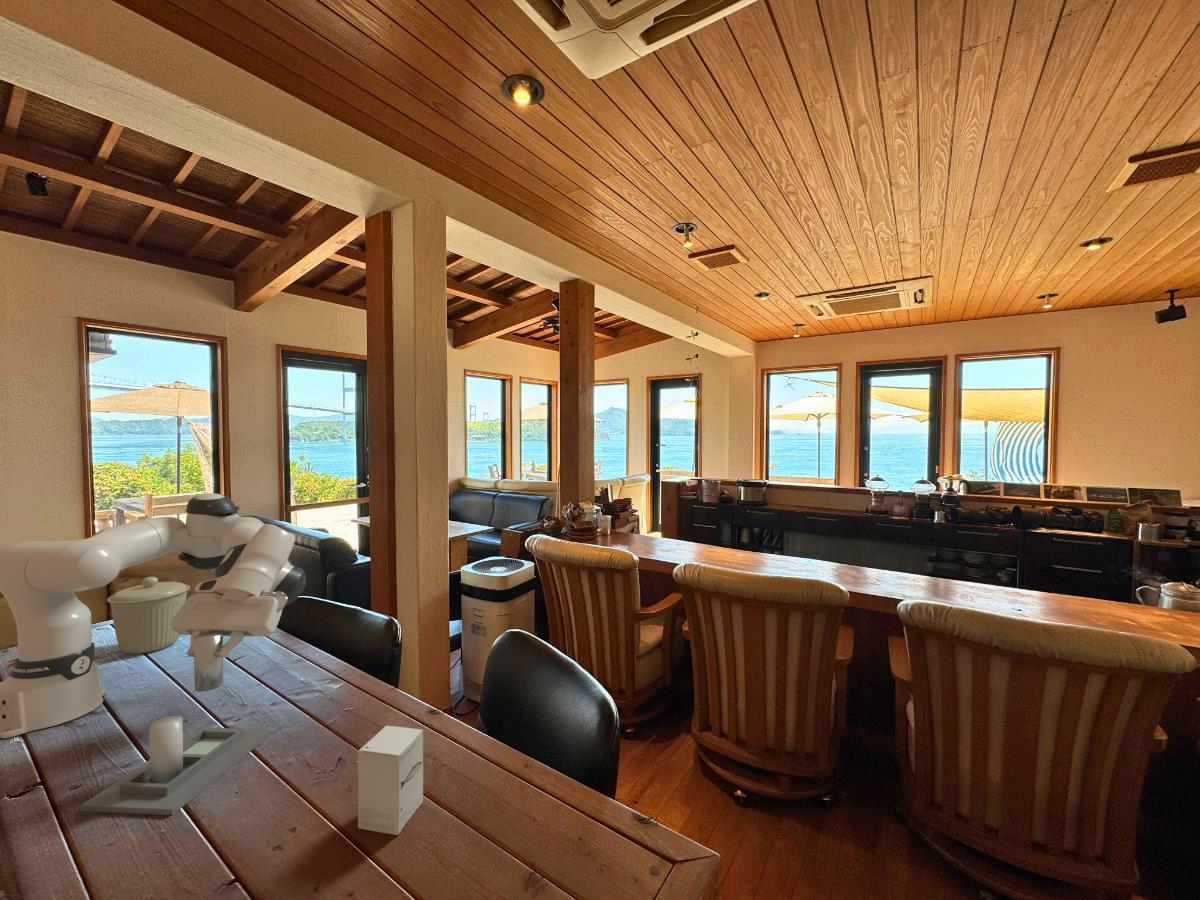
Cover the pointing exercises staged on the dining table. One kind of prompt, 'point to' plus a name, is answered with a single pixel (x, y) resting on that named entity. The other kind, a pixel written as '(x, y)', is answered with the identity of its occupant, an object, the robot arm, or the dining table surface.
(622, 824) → the dining table surface
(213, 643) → the cylinder
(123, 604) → the canister
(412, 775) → the supplement box
